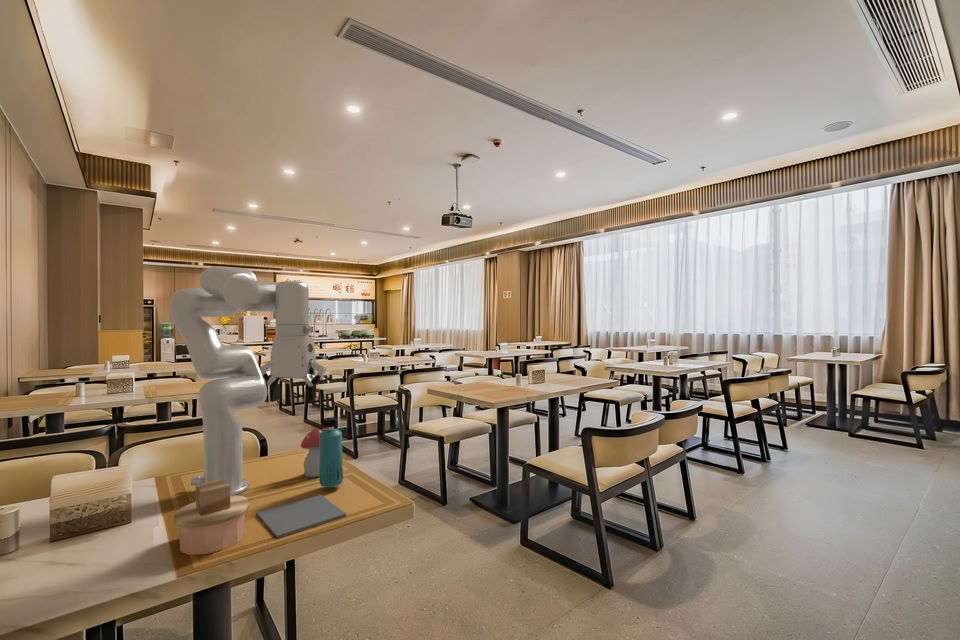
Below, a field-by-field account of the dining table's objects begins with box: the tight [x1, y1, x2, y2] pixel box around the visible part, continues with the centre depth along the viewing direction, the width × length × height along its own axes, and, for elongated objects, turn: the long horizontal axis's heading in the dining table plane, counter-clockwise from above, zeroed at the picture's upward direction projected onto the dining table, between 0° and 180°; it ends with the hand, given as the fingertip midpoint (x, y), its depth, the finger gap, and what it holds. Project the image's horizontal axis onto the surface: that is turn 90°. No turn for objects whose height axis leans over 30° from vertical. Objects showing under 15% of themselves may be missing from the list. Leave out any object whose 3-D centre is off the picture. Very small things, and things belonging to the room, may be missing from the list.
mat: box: [256, 494, 347, 539], centre depth 108 cm, size 16×16×1 cm
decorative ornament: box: [300, 426, 331, 478], centre depth 136 cm, size 9×7×15 cm
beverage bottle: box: [318, 417, 344, 488], centre depth 125 cm, size 6×7×20 cm
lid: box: [173, 479, 250, 528], centre depth 96 cm, size 14×14×6 cm
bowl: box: [179, 512, 246, 556], centre depth 96 cm, size 12×12×6 cm
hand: (292, 401), depth 108 cm, fingers open, 9 cm apart
